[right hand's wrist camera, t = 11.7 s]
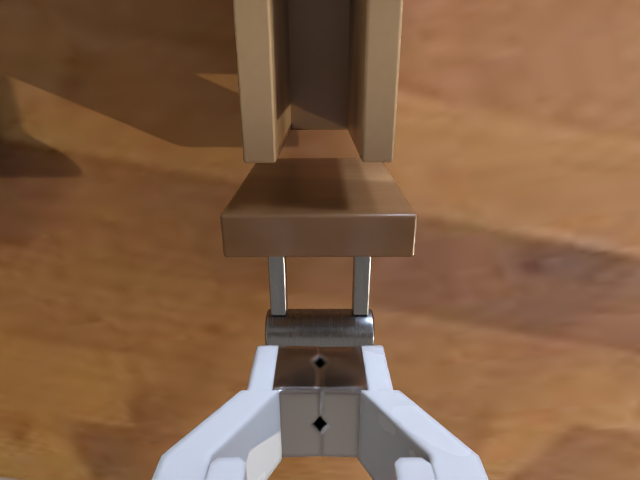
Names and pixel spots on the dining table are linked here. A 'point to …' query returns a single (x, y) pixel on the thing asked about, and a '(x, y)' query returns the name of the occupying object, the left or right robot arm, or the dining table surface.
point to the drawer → (318, 173)
